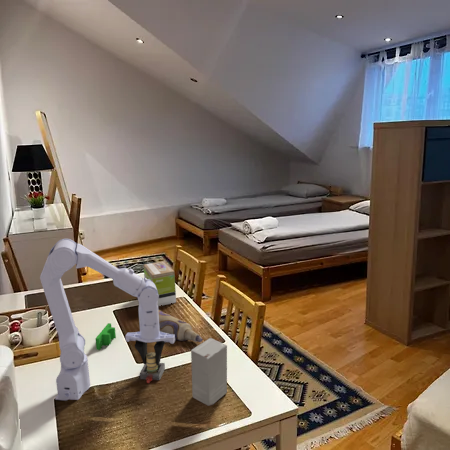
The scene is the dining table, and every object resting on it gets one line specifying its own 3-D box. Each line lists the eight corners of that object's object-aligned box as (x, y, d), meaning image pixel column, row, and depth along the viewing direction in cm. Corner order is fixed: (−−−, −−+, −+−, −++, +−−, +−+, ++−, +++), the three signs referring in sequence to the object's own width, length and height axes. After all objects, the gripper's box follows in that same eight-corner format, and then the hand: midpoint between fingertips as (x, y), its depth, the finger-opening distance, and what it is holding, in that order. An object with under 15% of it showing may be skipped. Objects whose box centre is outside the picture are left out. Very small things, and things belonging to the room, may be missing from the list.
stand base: (164, 386, 122) (164, 378, 122) (131, 384, 123) (130, 376, 123) (172, 367, 132) (172, 359, 131) (142, 365, 133) (141, 358, 132)
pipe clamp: (107, 351, 143) (105, 338, 142) (96, 350, 143) (95, 338, 142) (119, 334, 153) (117, 323, 152) (109, 334, 154) (108, 322, 153)
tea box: (144, 294, 189) (142, 263, 185) (166, 290, 193) (164, 260, 189) (154, 307, 175) (151, 274, 172) (176, 303, 179) (175, 270, 176)
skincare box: (210, 385, 123) (209, 335, 119) (229, 394, 118) (228, 343, 114) (190, 399, 116) (188, 348, 112) (210, 410, 112) (208, 357, 108)
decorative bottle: (145, 329, 157) (144, 312, 156) (161, 322, 163) (160, 306, 161) (192, 353, 140) (192, 334, 138) (208, 344, 145) (208, 326, 144)
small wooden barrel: (156, 374, 125) (155, 358, 124) (145, 373, 126) (144, 357, 125) (159, 367, 129) (158, 352, 127) (148, 367, 129) (147, 352, 128)
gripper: (176, 316, 126) (178, 356, 130) (130, 314, 128) (133, 354, 131) (170, 327, 120) (173, 369, 123) (121, 325, 121) (125, 367, 125)
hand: (151, 362), depth 127 cm, fingers closed on small wooden barrel, 3 cm apart
